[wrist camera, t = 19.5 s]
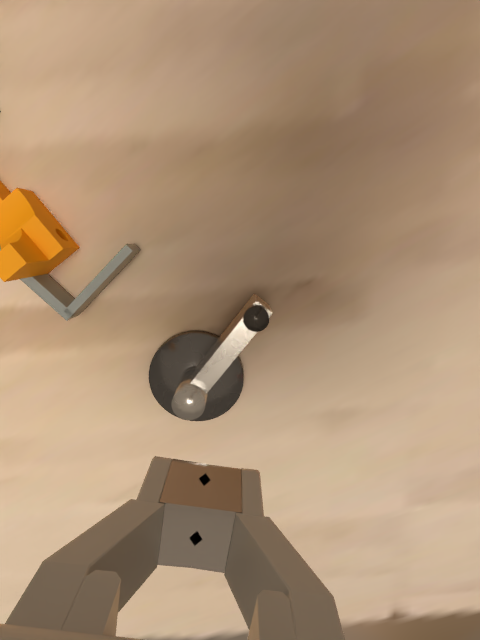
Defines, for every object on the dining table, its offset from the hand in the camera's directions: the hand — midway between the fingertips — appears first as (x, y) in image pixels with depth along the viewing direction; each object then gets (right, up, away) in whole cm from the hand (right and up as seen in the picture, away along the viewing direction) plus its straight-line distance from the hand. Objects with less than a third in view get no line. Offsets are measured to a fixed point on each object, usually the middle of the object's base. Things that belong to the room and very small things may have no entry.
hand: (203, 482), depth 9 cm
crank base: (-4, -1, +26) cm, 26 cm away
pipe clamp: (-20, +15, +22) cm, 34 cm away
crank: (-1, +2, +24) cm, 24 cm away
